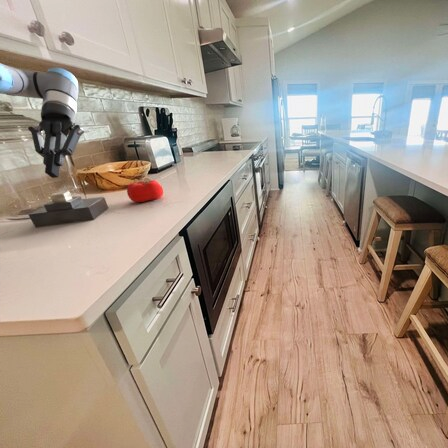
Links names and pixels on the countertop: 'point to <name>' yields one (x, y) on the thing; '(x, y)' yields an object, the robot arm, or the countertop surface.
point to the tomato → (144, 191)
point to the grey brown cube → (61, 197)
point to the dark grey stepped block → (69, 211)
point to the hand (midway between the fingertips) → (51, 174)
